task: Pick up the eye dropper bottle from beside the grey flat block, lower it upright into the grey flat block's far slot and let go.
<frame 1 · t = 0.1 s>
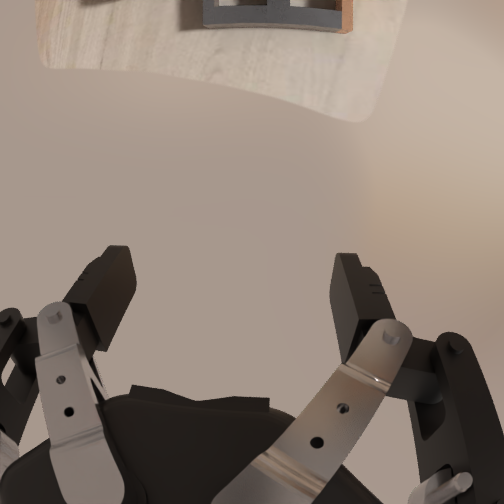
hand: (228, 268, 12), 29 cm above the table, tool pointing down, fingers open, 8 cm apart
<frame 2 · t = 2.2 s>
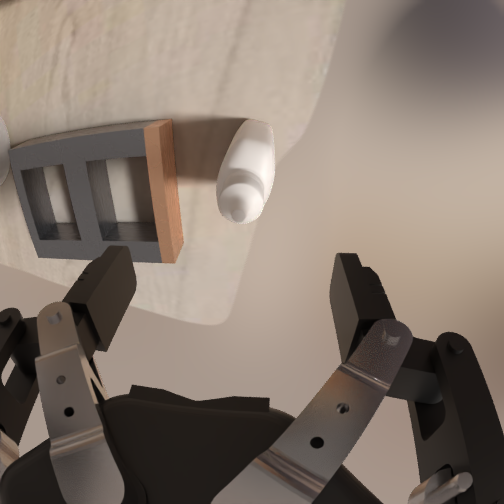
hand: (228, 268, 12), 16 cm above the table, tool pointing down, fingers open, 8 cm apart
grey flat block: (99, 188, 28), on the table
eye dropper bottle: (250, 150, 26), on the table
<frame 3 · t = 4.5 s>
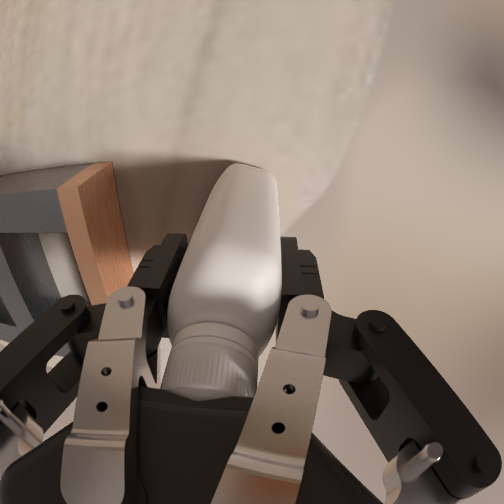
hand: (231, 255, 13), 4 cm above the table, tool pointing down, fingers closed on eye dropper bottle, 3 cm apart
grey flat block: (33, 255, 18), on the table
eye dropper bottle: (239, 213, 16), on the table, touching gripper
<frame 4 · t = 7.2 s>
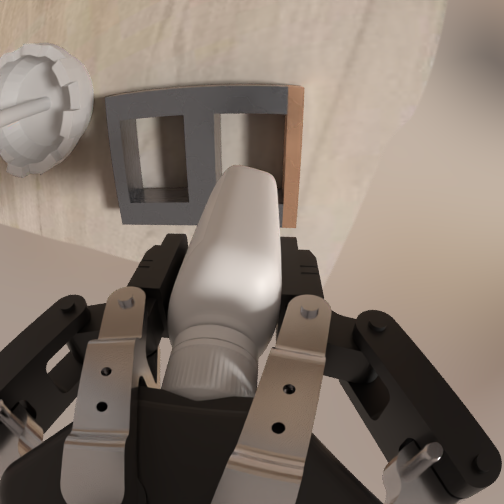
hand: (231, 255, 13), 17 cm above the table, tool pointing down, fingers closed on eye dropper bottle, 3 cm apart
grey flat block: (208, 149, 28), on the table
eye dropper bottle: (239, 214, 16), point 14 cm above the table, touching gripper
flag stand: (52, 101, 25), on the table
when the fingers open (5 cm above the table, at t = 10.3 s): eye dropper bottle drops 1 cm, resting in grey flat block.
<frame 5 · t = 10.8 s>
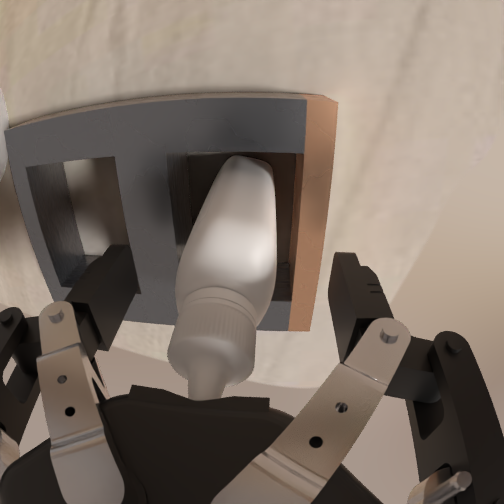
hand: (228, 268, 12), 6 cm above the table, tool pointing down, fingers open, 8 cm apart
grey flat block: (170, 202, 17), on the table
eye dropper bottle: (240, 202, 17), resting in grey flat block
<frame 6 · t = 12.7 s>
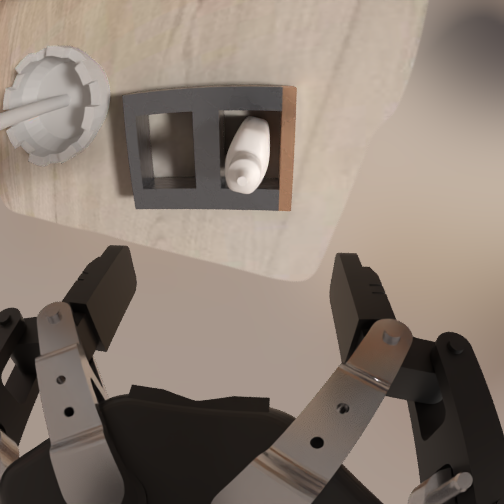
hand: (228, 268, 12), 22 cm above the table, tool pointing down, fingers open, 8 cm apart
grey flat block: (212, 142, 31), on the table
eye dropper bottle: (251, 142, 31), resting in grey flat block
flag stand: (71, 99, 29), on the table
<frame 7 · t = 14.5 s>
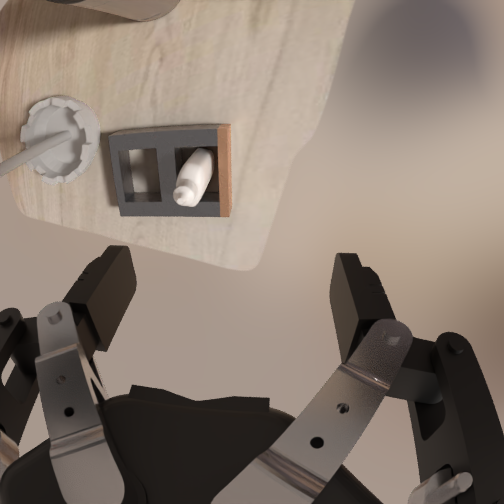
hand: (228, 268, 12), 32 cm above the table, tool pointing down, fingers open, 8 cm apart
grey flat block: (174, 167, 43), on the table
eye dropper bottle: (202, 166, 43), resting in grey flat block
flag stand: (71, 133, 40), on the table
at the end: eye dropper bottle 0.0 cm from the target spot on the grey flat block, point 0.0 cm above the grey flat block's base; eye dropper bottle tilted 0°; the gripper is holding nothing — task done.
